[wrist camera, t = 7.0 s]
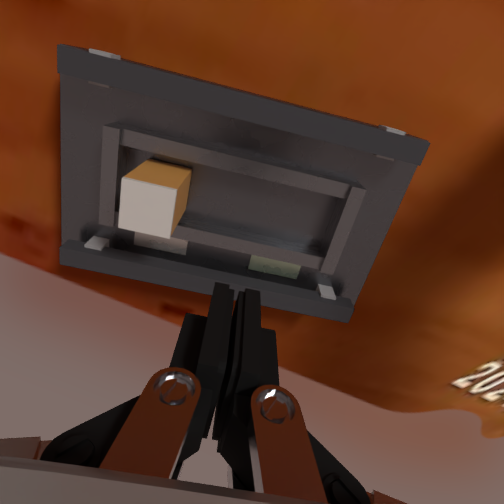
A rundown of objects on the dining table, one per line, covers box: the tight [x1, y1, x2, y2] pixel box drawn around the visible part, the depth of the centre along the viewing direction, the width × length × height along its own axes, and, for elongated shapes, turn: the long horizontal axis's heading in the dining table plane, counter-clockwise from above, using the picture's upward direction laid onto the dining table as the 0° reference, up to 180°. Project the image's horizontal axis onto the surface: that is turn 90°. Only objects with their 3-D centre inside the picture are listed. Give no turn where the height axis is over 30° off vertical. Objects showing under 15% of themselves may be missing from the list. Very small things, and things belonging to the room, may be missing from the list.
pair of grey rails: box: [57, 45, 430, 323], centre depth 24 cm, size 22×14×2 cm, turn 76°
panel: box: [60, 44, 428, 306], centre depth 25 cm, size 24×14×5 cm, turn 76°
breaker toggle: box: [118, 159, 192, 239], centre depth 22 cm, size 3×3×5 cm
